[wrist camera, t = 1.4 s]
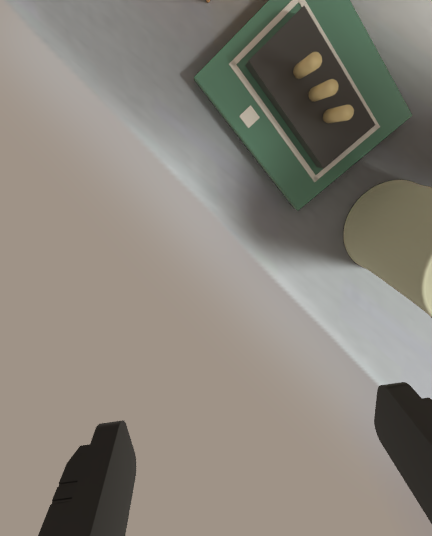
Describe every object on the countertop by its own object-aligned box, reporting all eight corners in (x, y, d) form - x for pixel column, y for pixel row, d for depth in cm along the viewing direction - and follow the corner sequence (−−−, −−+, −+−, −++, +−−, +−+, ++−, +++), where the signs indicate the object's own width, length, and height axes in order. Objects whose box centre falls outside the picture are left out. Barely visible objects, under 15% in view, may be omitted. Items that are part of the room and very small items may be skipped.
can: (403, 279, 33) (508, 347, 22) (327, 256, 32) (399, 317, 21) (451, 196, 30) (601, 227, 19) (369, 166, 29) (481, 181, 18)
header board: (314, -44, 23) (351, -101, 17) (403, 116, 27) (454, 110, 22) (194, 79, 25) (194, 62, 20) (294, 208, 30) (316, 222, 24)
